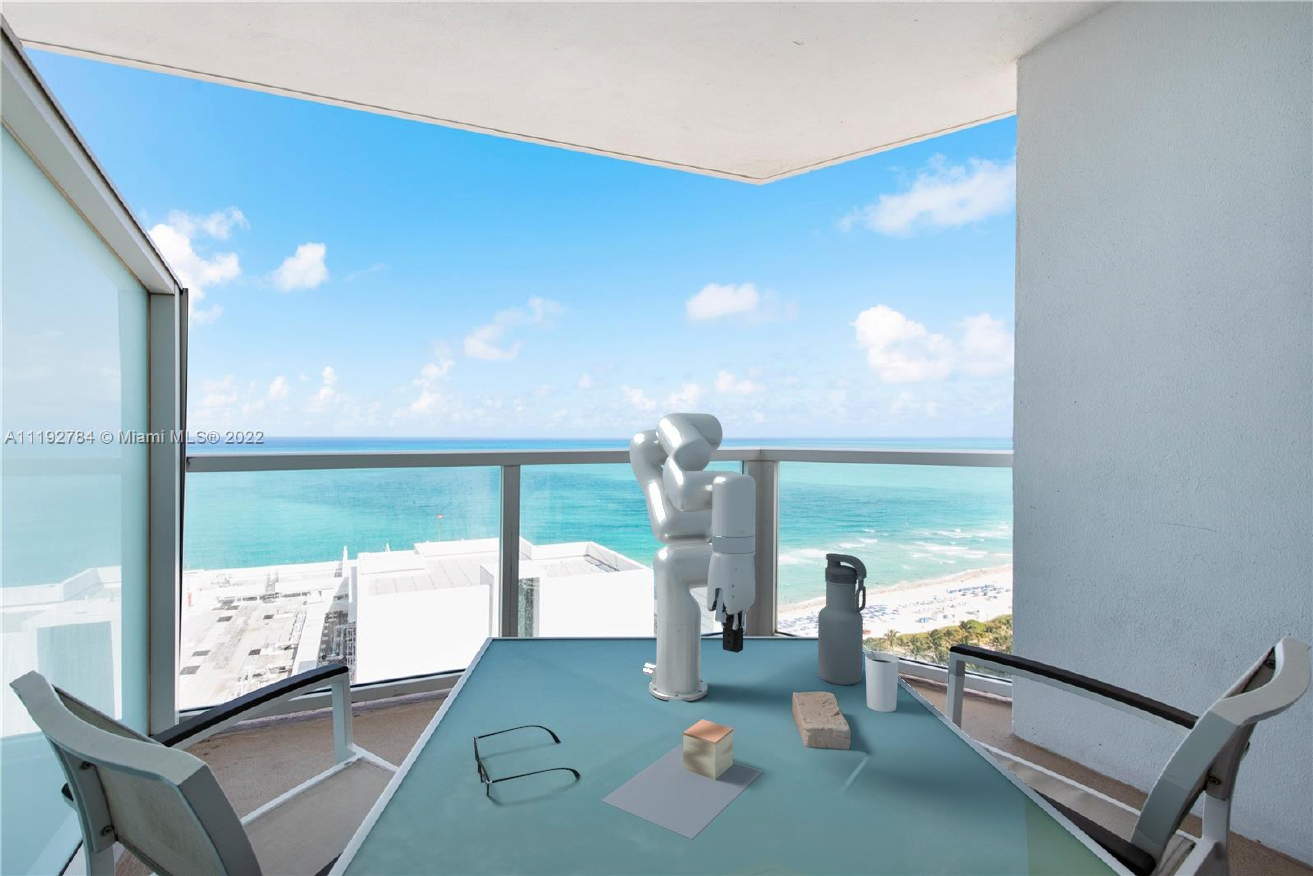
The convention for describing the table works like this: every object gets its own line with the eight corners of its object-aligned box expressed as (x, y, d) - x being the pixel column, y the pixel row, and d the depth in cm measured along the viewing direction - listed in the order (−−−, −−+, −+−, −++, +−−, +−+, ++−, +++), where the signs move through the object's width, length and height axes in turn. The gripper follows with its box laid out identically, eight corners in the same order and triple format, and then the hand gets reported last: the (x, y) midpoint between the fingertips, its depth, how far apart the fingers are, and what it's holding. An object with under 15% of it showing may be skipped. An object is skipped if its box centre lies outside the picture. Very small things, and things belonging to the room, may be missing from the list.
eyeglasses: (469, 756, 113) (469, 733, 113) (558, 740, 119) (559, 718, 119) (484, 807, 98) (484, 780, 98) (586, 785, 104) (586, 760, 104)
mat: (600, 804, 98) (600, 800, 98) (680, 747, 116) (680, 743, 116) (692, 843, 89) (692, 839, 89) (762, 774, 107) (762, 771, 107)
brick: (852, 754, 115) (852, 727, 115) (804, 752, 115) (804, 726, 115) (833, 714, 131) (833, 691, 131) (791, 713, 131) (791, 690, 131)
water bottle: (868, 676, 151) (870, 554, 151) (857, 690, 143) (858, 561, 142) (825, 667, 156) (826, 550, 156) (811, 680, 148) (813, 556, 148)
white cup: (894, 715, 130) (895, 665, 130) (860, 708, 133) (861, 659, 133) (901, 704, 135) (902, 656, 135) (869, 697, 139) (869, 650, 139)
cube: (682, 768, 107) (683, 732, 107) (701, 754, 112) (702, 719, 112) (714, 780, 104) (715, 742, 104) (732, 764, 109) (733, 728, 109)
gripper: (734, 537, 123) (733, 636, 123) (692, 548, 110) (692, 657, 110) (771, 541, 118) (770, 643, 118) (732, 553, 106) (731, 666, 106)
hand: (732, 650), depth 114 cm, fingers closed
